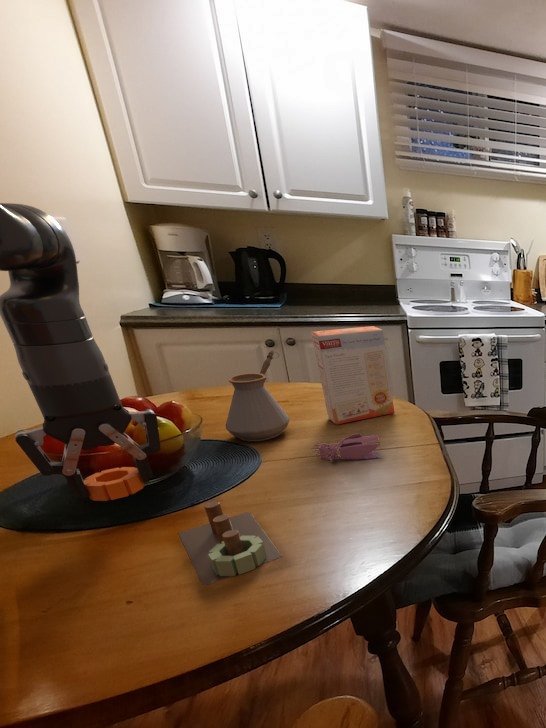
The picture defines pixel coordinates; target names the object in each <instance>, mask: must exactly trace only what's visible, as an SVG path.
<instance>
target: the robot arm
mask: <svg viewBox="0 0 546 728" xmlns="http://www.w3.org/2000/svg"><path fill="white" fill-rule="evenodd" d="M0 272H8V277H9V283H10V284H9V288H8V289H7V290H6V291H4V292H3V293H2V294H0V318H1V320H2V322H3V325H4V327H5V329H6V331H7V334H8V335H9V337H10V340H11V342H12V343H13V346H14V350H15V354H16V359H17V362H18V365H19V367H20V370H21V371H22V372H21V374H22V376H23V378H24V379H25V381H26V382H27V385H28V387H29V389H30V391H31V393H32V395H33V397H34V400H35V402H36V404H37V406H38V409H39V411H40V412H41V415H42V417H43V423H42V426H39V427H36V428H33V429H29V430H25V429H19V430H18V431H16V432H15V438H14V439H15V442H16V444H17V445H18V446H19V447H20V449H21V450H22V451H23V452H24V454H25V455H26V456H27V457H28V459H29V460H30V461H31V462H32V464H33V465H34V466H35V468H36V469H37V470H38V471H39V473H40V474H42V476H46V477H47V476H52V475H61V476H63V477H64V478H65V480H66V482H67V484H68V486H69V488H70V490H71V492H72V494H73V495H75V496H76V497H77V496H81V498H82V499H85V498H90V495H89V493H88V491H87V489H86V486H85V483H84V480H85V479H84V478H83V476H82V474H81V471H80V469H79V468H77V466H78V462H79V459H80V456H81V451H82V450H83V452H86V451H89V450H90V451H91V450H93V449H96V448H98V447H110V446H115V444H116V445H117V446H119V447H120V448H122V449H123V450H124V451H126V452H127V453H128V454H129V455H131V456H132V460H133V461H134V464H135V467H136V468H137V469H138V471H139V473H140V476H141V479H142V481H143V483H144V484H146V483H149V482H150V479H151V478H153V477H154V473H153V469H152V467H151V464H150V462H149V459H148V458H149V456H150V455H152V454H154V453H158V452H160V451H161V449H162V447H161V441H160V432H159V424H158V423H159V422H158V416H157V414H156V413H155V411H154V410H153V409H151V408H145V409H144V410H142V411H129V410H127V409H126V408H125V407H124V406H123V404H122V402H121V399H120V396H119V393H118V392H117V388H116V385H115V383H114V381H113V378H112V375H111V373H110V371H109V366H108V363H107V362H106V360H105V357H104V355H103V353H102V351H101V349H100V347H99V346H98V344H97V342H96V340H95V338H94V336H93V333H92V331H91V328H90V325H89V322H88V320H87V317H86V315H85V313H84V310H83V308H82V305H81V303H80V302H81V301H80V282H79V273H78V263H77V259H76V253H75V249H74V247H73V243H72V241H71V239H70V238H69V235H68V234H67V232H66V231H65V230H64V228H63V226H62V225H61V223H59V222H58V221H57V220H56V219H55V218H54V217H52V215H50V214H49V213H47V212H46V211H43V210H42V209H40V208H38V207H35V206H32V205H29V204H22V203H11V202H10V203H7V202H5V203H3V202H0ZM132 421H135V422H136V423H137V425H138V426H139V427H141V428H144V431H145V432H144V434H145V440H146V443H144V444H142V445H139V444H138V443H137V442H136V441H134V440H133V439H132V437H130V436H129V435H128V434H126V433H125V432H126V431H127V428H128V427H129V425H130V423H131V422H132ZM45 436H49V437H51V438H52V439H55V440H57V441H59V442H60V443H63V444H64V449H63V455H62V459H61V462H60V461H52V460H51V459H50V457H49V456H48V454H47V453H45V451H44V450H43V448H42V446H43V445H44V441H45V440H44V437H45Z"/></svg>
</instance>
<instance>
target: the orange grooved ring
mask: <svg viewBox="0 0 546 728" xmlns="http://www.w3.org/2000/svg"><path fill="white" fill-rule="evenodd" d="M83 480H84V483H85V486H86V489H87V491H88V493H89V495H90V497H89V500H92V501H95V502H96V501H97V502H100V501H101V502H108V501H109V500H110V501H113V500H114V501H115V500H118V499H121V498H125V497H129V496H130V495H134V494H136V493H138V492H140V491H141V490H142V489H144V487H145V483H143V481H142V479H141V476H140V473H139V471H138V469H137V467H136V466H135V467H134V466H121V467H113V468H110V469H105V470H101V472H95V473H93V474H91V475H89V476H87V477H85V478H84V479H83Z"/></svg>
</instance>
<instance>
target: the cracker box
mask: <svg viewBox="0 0 546 728" xmlns="http://www.w3.org/2000/svg"><path fill="white" fill-rule="evenodd" d="M310 333H311V339H312V343H313V348H314V353H315V359H316V362H317V364H316V365H317V368H318V374H319V379H320V383H321V388H322V391H323V392H322V393H323V397H324V402H325V407H326V412H327V416H328V419H329V420H330V421H331V422H332V423H333V424H334V425H336V426H337V425H342V424H346V423H352V422H356V421H360V420H365V419H370V418H376V417H381V416H385V415H391V414H395V405H394V400H393V399H394V398H393V392H392V386H391V378H390V371H389V362H388V356H387V350H386V343H385V336H384V335H385V334H384V330H383V329H381V328H379V327H377V326H374V325H371V326H360V327H350V328H348V327H347V328H338V329H326V330H318V331H316V330H315V331H311V332H310Z"/></svg>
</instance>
